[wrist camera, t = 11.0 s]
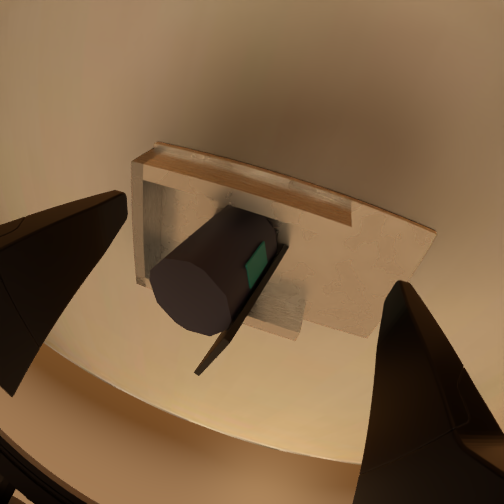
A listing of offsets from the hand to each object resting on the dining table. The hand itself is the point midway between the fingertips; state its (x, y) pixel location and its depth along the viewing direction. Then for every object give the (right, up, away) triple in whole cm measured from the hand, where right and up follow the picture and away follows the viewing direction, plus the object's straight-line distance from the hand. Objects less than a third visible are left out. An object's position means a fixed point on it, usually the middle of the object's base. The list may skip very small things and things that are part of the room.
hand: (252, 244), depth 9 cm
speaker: (-1, +1, +15) cm, 15 cm away
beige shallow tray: (+2, 0, +15) cm, 16 cm away
